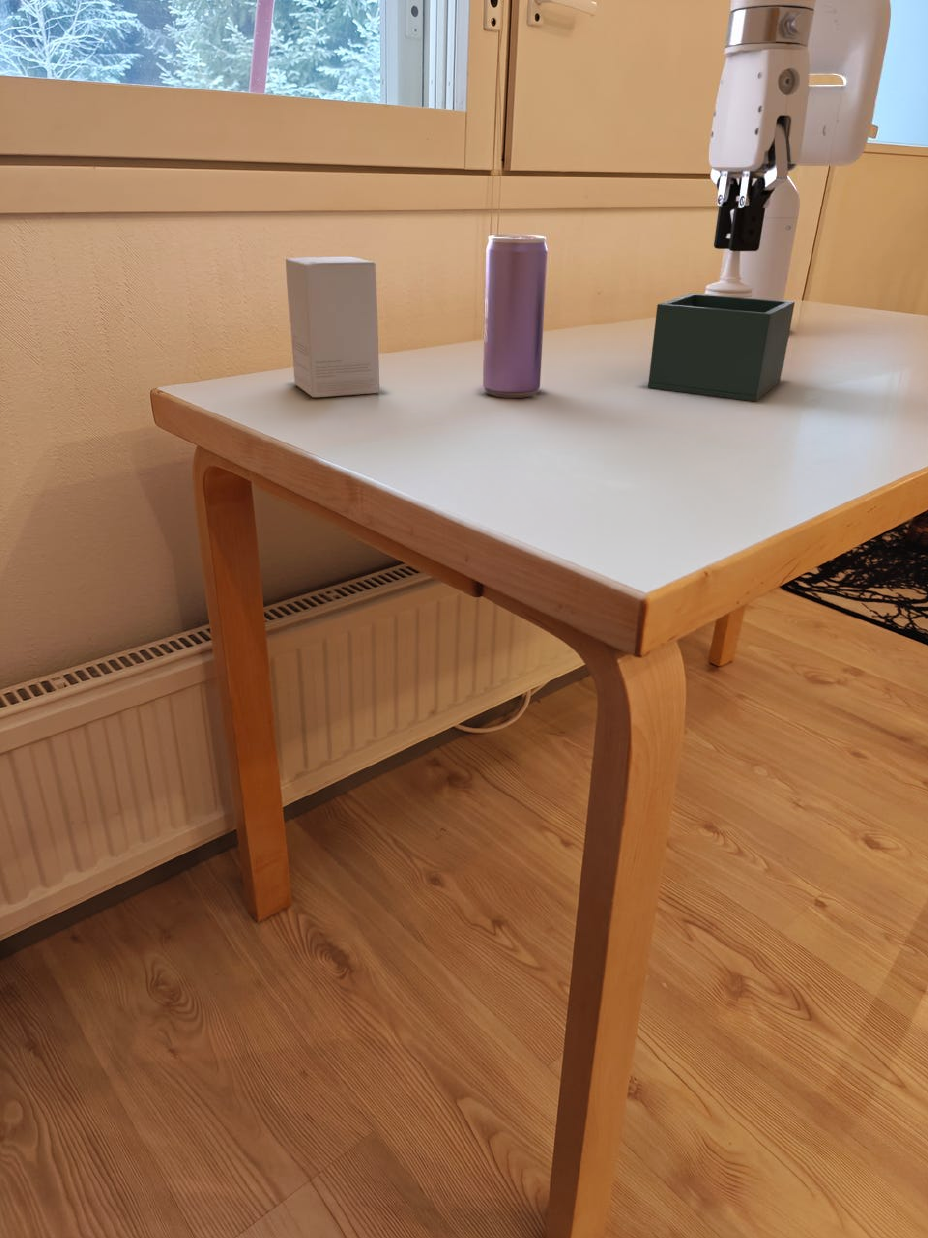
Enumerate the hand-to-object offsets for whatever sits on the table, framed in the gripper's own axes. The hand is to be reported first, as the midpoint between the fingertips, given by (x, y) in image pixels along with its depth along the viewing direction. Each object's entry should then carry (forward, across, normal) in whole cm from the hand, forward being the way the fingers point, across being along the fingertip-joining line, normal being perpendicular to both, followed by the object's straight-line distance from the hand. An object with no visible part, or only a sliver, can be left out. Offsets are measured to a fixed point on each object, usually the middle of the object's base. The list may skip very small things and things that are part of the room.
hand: (735, 247), depth 89 cm
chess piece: (+5, 0, 0) cm, 5 cm away
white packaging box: (+14, +5, +41) cm, 44 cm away
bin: (+14, 0, 0) cm, 14 cm away
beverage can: (+14, 0, +24) cm, 28 cm away
